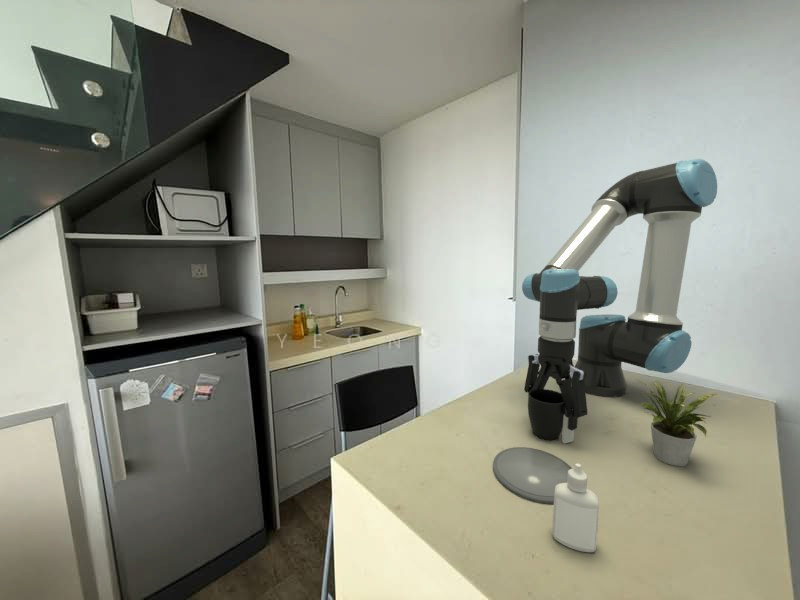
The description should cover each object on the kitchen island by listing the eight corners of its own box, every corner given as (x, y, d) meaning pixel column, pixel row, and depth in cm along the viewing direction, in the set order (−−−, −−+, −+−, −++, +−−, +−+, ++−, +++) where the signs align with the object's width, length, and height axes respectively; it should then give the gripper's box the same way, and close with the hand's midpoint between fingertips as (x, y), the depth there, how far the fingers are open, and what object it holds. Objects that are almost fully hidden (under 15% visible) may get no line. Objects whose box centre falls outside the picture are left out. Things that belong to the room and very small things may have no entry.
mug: (584, 435, 74) (587, 396, 73) (547, 448, 69) (549, 406, 68) (555, 419, 81) (556, 383, 80) (519, 430, 76) (520, 392, 75)
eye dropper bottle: (585, 563, 43) (591, 482, 42) (546, 534, 48) (550, 460, 46) (601, 546, 46) (607, 469, 44) (562, 520, 50) (566, 450, 49)
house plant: (610, 453, 67) (616, 379, 65) (630, 430, 76) (636, 364, 73) (703, 491, 56) (714, 403, 54) (714, 458, 65) (724, 382, 63)
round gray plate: (532, 443, 71) (532, 440, 71) (598, 487, 57) (598, 483, 57) (477, 462, 65) (477, 457, 65) (535, 515, 51) (536, 510, 51)
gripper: (510, 330, 80) (507, 415, 83) (588, 351, 61) (581, 461, 64) (532, 327, 83) (529, 409, 86) (613, 347, 64) (605, 451, 67)
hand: (551, 431), depth 75 cm, fingers closed on mug, 8 cm apart
